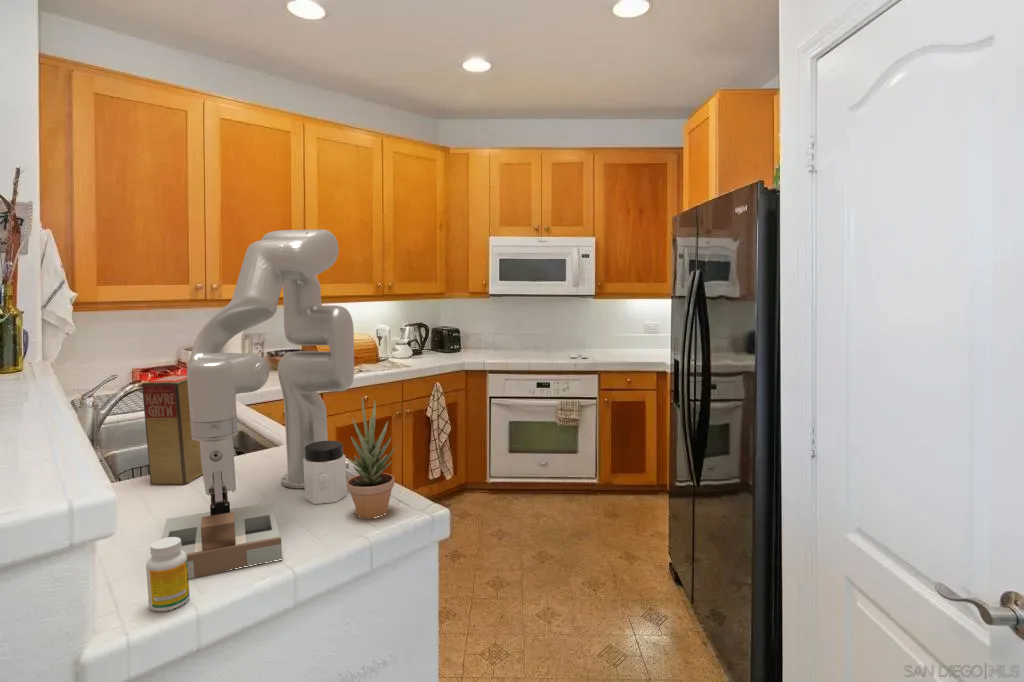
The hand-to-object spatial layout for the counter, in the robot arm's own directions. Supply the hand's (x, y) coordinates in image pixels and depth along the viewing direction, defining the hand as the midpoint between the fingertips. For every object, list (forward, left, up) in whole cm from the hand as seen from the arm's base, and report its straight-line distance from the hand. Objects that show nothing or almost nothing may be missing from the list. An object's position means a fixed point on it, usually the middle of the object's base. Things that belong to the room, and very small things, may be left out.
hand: (221, 525), depth 110 cm
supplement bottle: (+7, +19, -4) cm, 20 cm away
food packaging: (+9, -48, -4) cm, 50 cm away
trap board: (0, +1, -4) cm, 4 cm away
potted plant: (-28, -2, -4) cm, 28 cm away
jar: (-21, -16, -4) cm, 27 cm away
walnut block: (0, +8, -1) cm, 8 cm away
